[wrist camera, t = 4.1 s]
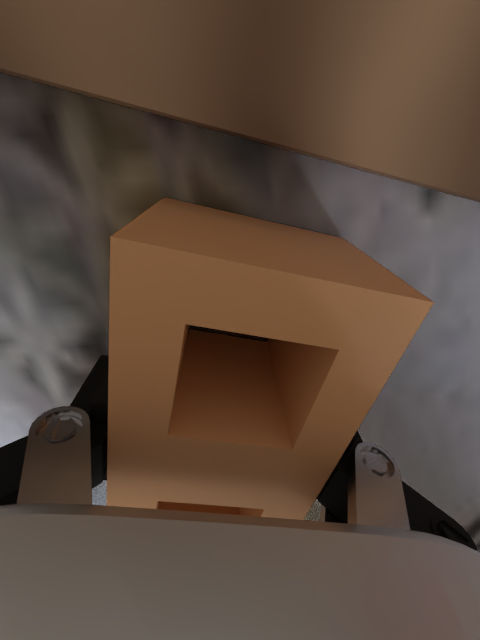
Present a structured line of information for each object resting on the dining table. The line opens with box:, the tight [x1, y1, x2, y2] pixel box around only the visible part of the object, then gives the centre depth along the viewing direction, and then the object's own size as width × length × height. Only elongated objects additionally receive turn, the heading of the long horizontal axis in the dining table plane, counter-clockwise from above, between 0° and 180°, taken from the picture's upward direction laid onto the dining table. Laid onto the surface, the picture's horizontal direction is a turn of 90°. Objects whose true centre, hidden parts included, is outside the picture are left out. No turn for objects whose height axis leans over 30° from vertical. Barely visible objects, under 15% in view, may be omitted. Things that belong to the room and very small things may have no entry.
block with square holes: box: [107, 197, 434, 520], centre depth 10 cm, size 12×6×5 cm, turn 167°
